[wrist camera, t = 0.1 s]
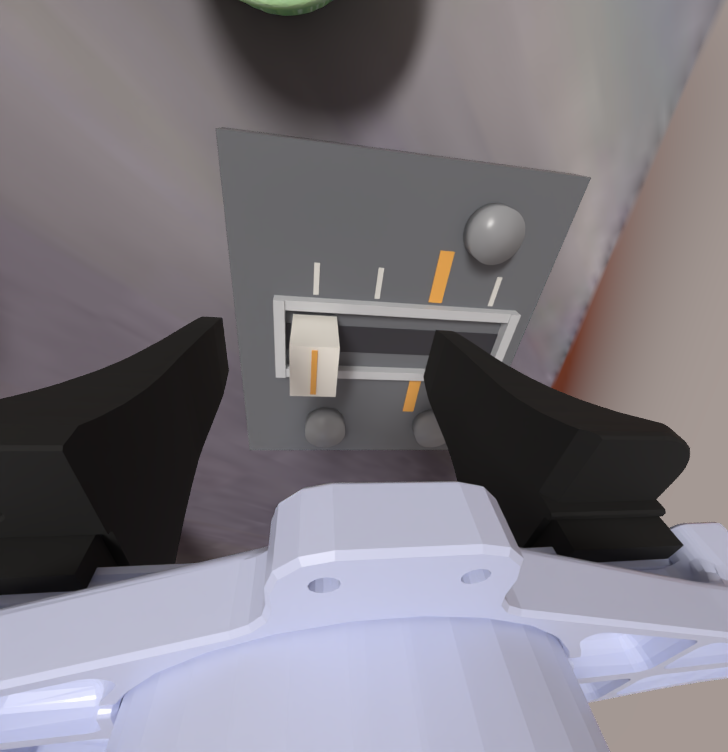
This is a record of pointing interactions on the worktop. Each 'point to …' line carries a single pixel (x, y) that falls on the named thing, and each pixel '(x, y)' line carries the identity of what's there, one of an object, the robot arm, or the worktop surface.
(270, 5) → the ramekin
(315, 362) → the fader tab
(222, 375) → the robot arm
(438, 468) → the worktop surface
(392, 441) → the console panel
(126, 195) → the worktop surface
